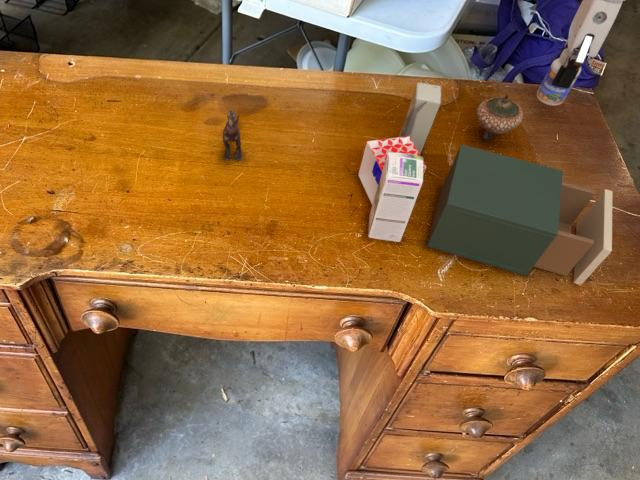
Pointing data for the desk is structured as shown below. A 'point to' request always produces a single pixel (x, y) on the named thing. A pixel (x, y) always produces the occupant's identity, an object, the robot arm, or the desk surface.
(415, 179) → the syrup box
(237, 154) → the dinosaur model
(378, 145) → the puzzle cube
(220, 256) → the desk surface
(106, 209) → the desk surface
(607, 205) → the drawer
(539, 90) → the pill bottle
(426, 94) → the box
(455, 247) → the cabinet
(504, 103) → the acorn
